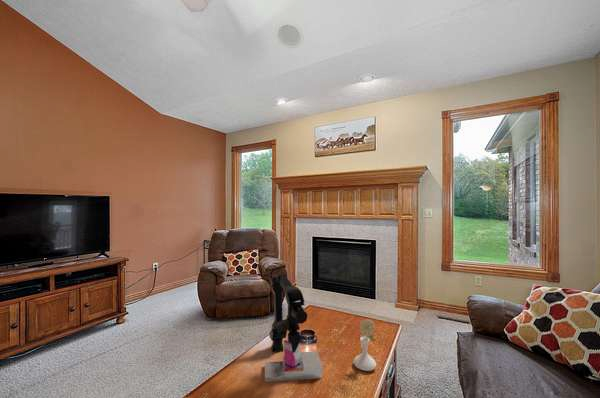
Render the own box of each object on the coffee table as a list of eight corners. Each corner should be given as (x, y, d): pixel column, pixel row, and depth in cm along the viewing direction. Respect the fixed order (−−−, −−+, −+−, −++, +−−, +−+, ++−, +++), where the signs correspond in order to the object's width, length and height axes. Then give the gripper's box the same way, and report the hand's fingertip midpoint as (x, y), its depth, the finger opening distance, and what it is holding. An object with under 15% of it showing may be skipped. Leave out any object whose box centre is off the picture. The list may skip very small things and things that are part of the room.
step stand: (264, 366, 133) (265, 354, 133) (317, 363, 136) (317, 351, 137) (264, 381, 121) (264, 368, 121) (322, 378, 124) (322, 365, 125)
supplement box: (291, 358, 133) (291, 335, 134) (300, 362, 129) (300, 339, 130) (284, 363, 129) (283, 339, 129) (293, 368, 125) (292, 343, 125)
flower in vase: (349, 362, 137) (349, 314, 138) (366, 358, 142) (367, 311, 142) (364, 377, 125) (364, 324, 126) (383, 372, 130) (383, 321, 130)
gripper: (276, 308, 138) (275, 338, 137) (277, 324, 119) (277, 359, 119) (297, 307, 139) (296, 337, 139) (302, 323, 121) (301, 357, 120)
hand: (292, 347), depth 129 cm, fingers open, 9 cm apart
